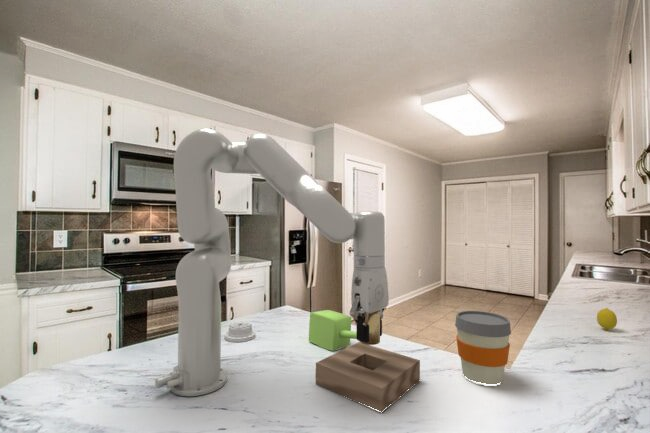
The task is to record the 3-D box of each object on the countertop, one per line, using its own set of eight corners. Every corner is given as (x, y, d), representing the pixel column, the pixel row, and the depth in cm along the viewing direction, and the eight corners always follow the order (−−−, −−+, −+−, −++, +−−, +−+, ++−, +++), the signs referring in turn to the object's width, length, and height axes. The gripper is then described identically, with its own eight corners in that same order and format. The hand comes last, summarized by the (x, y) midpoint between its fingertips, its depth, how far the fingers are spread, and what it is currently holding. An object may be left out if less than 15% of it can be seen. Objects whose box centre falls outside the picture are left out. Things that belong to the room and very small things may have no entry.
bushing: (372, 346, 75) (372, 315, 75) (355, 341, 78) (354, 311, 78) (383, 340, 78) (383, 311, 79) (366, 335, 82) (366, 307, 82)
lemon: (593, 328, 119) (593, 306, 120) (603, 327, 121) (603, 305, 121) (610, 333, 114) (610, 310, 114) (621, 332, 116) (620, 309, 116)
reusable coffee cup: (511, 373, 83) (511, 315, 83) (510, 396, 72) (510, 328, 73) (459, 362, 89) (459, 308, 90) (451, 381, 79) (451, 319, 79)
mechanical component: (220, 343, 103) (251, 343, 103) (220, 329, 103) (251, 329, 103) (229, 332, 113) (258, 332, 113) (229, 319, 113) (258, 319, 113)
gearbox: (365, 349, 100) (366, 318, 100) (344, 356, 93) (345, 323, 93) (323, 333, 113) (325, 306, 113) (302, 339, 106) (304, 310, 106)
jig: (381, 413, 65) (381, 388, 65) (315, 383, 77) (315, 362, 77) (419, 380, 79) (419, 360, 79) (358, 359, 91) (358, 341, 91)
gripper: (362, 267, 70) (362, 353, 69) (399, 260, 82) (400, 332, 82) (335, 264, 74) (335, 344, 74) (374, 258, 87) (374, 326, 87)
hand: (369, 337), depth 78 cm, fingers closed on bushing, 5 cm apart
